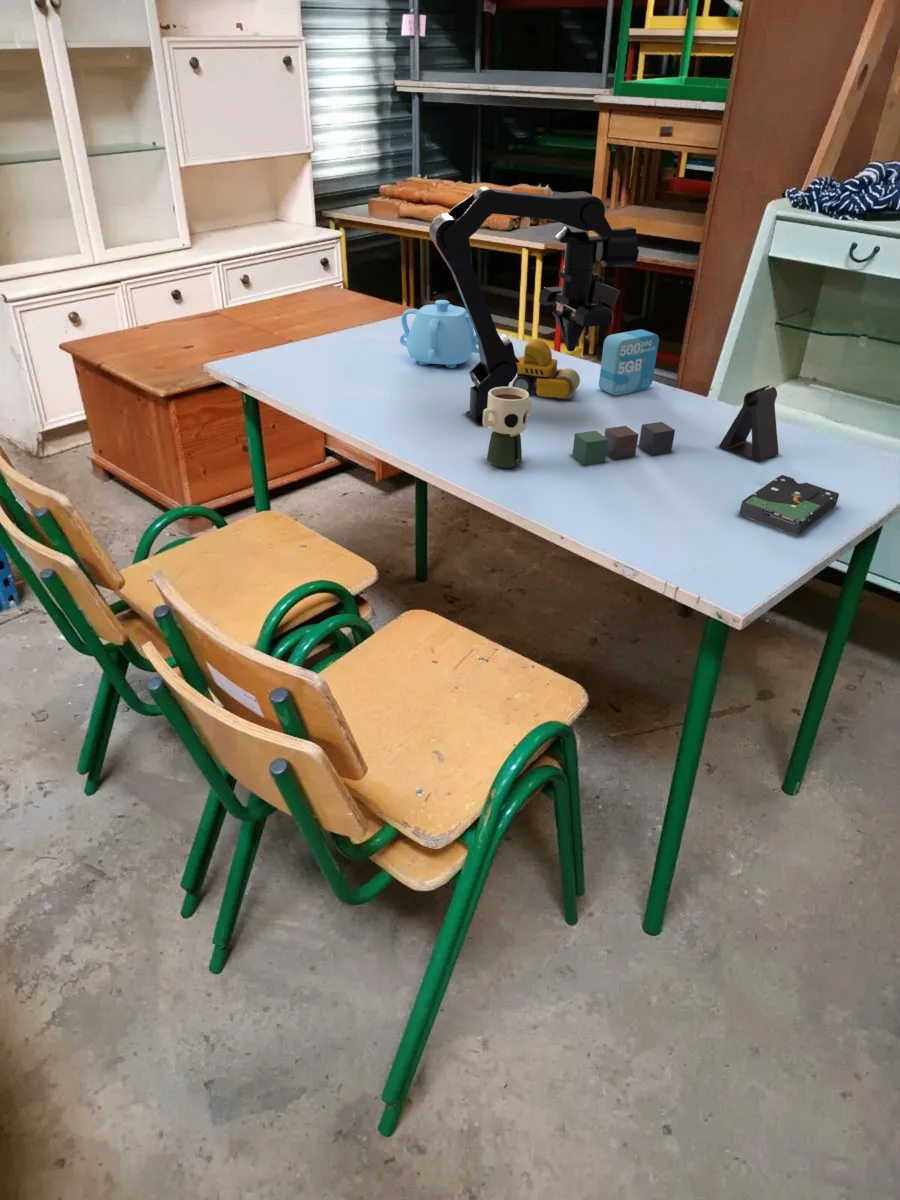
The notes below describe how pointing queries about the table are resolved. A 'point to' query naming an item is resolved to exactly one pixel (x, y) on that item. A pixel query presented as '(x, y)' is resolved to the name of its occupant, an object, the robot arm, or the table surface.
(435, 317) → the decorative pot
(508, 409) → the character mug
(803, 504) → the disk drive
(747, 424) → the black triangular stand
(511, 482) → the table surface
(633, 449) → the walnut block
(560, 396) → the toy roller
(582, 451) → the green block
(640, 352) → the data package
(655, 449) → the charcoal block
